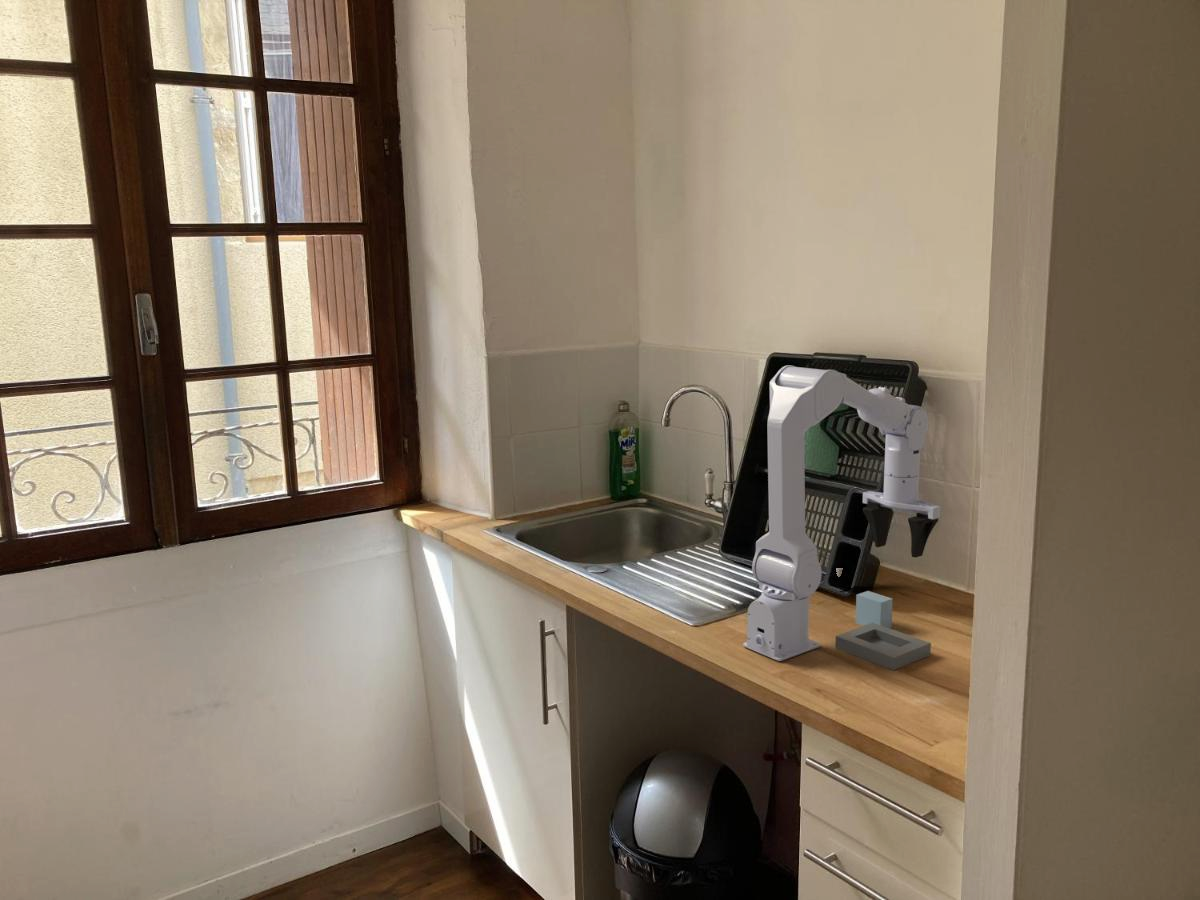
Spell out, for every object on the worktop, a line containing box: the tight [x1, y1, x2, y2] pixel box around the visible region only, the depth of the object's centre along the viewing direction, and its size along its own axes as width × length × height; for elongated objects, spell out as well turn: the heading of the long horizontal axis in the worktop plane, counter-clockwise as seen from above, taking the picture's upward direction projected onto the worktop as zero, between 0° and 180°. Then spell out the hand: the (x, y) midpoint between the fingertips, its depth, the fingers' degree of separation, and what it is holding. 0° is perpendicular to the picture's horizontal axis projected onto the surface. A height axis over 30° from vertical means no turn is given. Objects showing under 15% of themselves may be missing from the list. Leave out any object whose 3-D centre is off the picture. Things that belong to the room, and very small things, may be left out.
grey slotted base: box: [834, 623, 932, 671], centre depth 154 cm, size 9×11×2 cm
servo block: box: [855, 590, 894, 629], centre depth 165 cm, size 3×5×5 cm, turn 37°
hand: (898, 551), depth 172 cm, fingers open, 7 cm apart
